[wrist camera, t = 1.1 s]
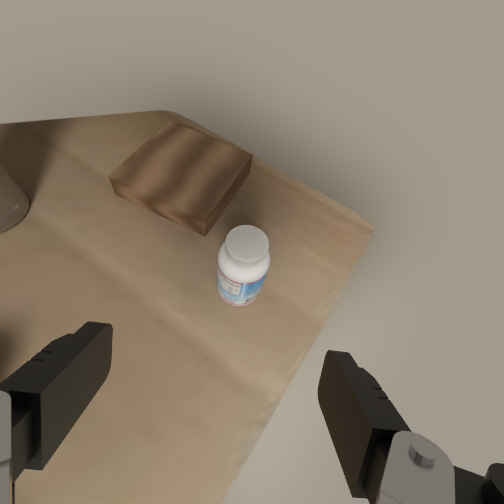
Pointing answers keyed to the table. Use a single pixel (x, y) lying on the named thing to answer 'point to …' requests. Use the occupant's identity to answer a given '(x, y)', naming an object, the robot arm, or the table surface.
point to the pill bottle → (242, 265)
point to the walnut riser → (182, 176)
